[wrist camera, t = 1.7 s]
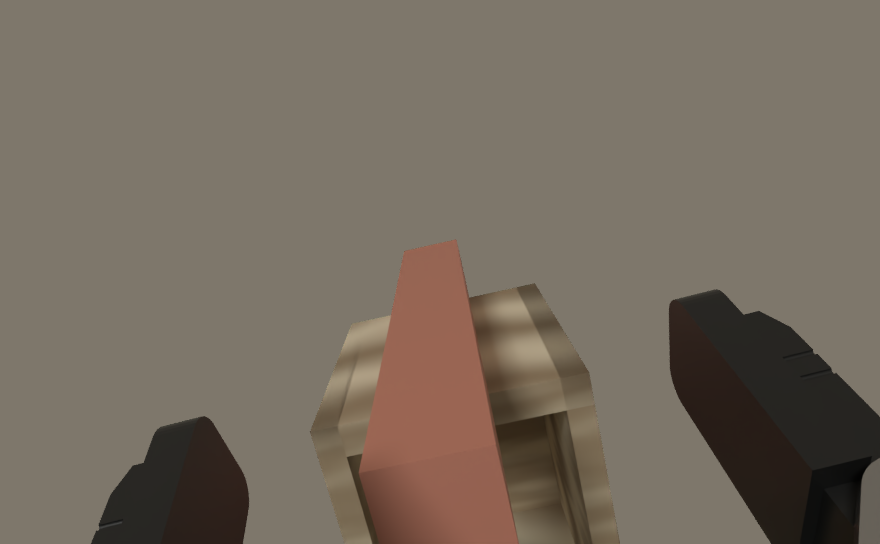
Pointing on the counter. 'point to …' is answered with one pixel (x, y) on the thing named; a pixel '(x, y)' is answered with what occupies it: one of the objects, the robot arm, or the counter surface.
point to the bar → (434, 417)
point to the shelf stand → (515, 416)
